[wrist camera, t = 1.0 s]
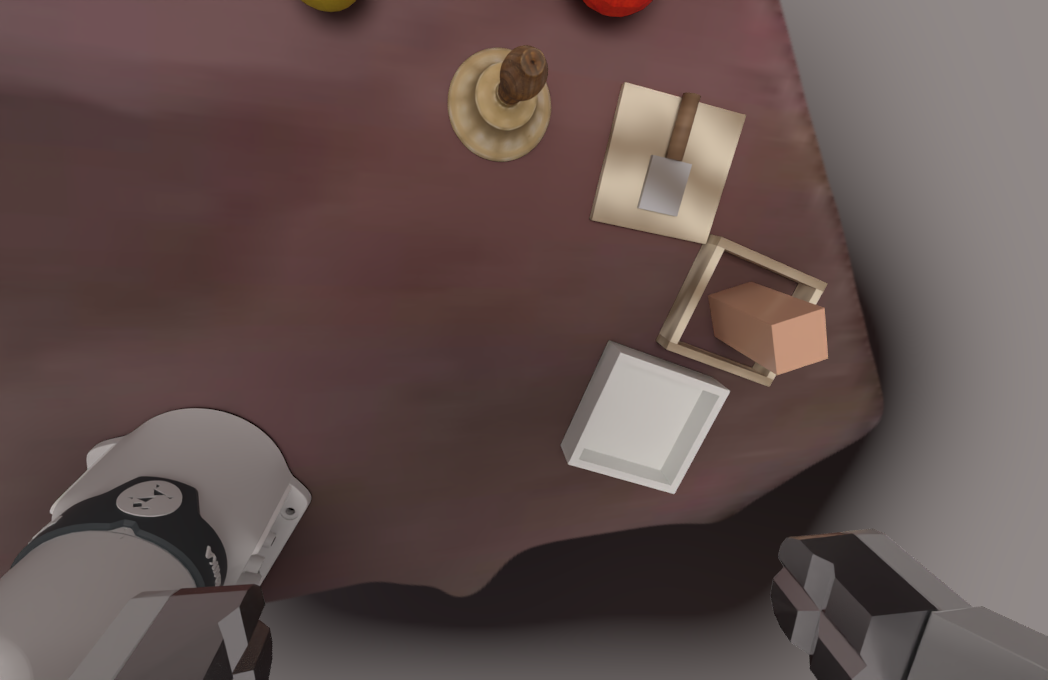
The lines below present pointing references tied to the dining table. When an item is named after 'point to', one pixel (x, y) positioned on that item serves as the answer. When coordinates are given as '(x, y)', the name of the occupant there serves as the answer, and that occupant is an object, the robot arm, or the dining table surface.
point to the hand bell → (501, 102)
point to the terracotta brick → (769, 326)
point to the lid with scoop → (665, 163)
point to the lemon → (329, 4)
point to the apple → (617, 6)
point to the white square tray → (642, 418)
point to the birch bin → (694, 289)
